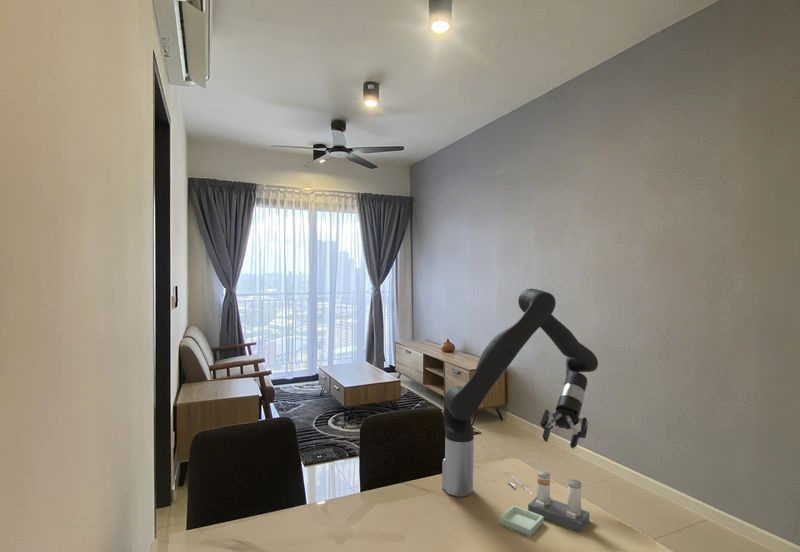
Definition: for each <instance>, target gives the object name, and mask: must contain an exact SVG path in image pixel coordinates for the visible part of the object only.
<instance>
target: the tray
mask: <svg viewBox="0 0 800 552" xmlns="http://www.w3.org/2000/svg"><path fill="white" fill-rule="evenodd" d="M544 520H545V519H544V516H541V515H538V514H536V513H533V512H530V511H528V509H525V508H523V507H519V506H516V505H514V504H513V505H512V506H511V507H509V508H508V509H507V510H506V511H505V512H503V514H501V515H500V516H499V517H498V526H501V527H504V528H506V529H508V530H511V531H513V532H515V533H518V534H519V535H523V536H525V537H527V538H531V537H532V536H533V535H534V534H535V533H536V532H537V531H538V530H539V529H540V527H542V526H543V525H544Z"/></svg>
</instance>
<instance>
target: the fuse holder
mask: <svg viewBox="0 0 800 552" xmlns="http://www.w3.org/2000/svg"><path fill="white" fill-rule="evenodd" d="M528 503H529V504H528V506H527V510H528V511H530V512H533V513H536V514H538V515H541V516H544V520H545V521H548V522H550V523H554V524H556V525H558V526H559V525H560V526H561V527H565V528H566V529H569V530H573V532H574V531H575V532H577V533H580V534H581V533H582V531H583V530H584V529H585V527H586V526H587V525H588V523H589V522H590V511H587V510H584V509H583V507H582V506H581V516H580V517H576V514H575V513H572V512H569V511H567V509H568V503H564V502H561V501H558V500H555V499H554V498H553V499H552V496H551V495H550V505H549V506H545V503H544V502H541V501H538V500H537V496H535V498H534V499H533V500H532V501H530V502H528Z"/></svg>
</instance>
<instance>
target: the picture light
mask: <svg viewBox="0 0 800 552" xmlns="http://www.w3.org/2000/svg"><path fill="white" fill-rule="evenodd" d="M511 478H512V479H513V480H514V481H515V482H514V483H512V481H511V482H508V485H511V487H513V490H517V486H516V485H517V483H518V485H520V486H521V488H523V489H524V490H525V491H526V492H527V493H528V494H529V495H531V496H532V497H533V493H532V492H531V491H530V490H529V489H527V488H526V487H525V486H524V484H523V482H521V481H520V480H518V479H516V477H515V476H512V477H511Z"/></svg>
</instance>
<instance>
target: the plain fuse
mask: <svg viewBox="0 0 800 552" xmlns="http://www.w3.org/2000/svg"><path fill="white" fill-rule="evenodd" d="M567 505H568V509H567V511H569V512H572V513H575V514H576V517H580V516H581V507H582V482H581V481H580V480H579V479H578V480H577V479H573V478H572V479H568V480H567Z"/></svg>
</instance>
